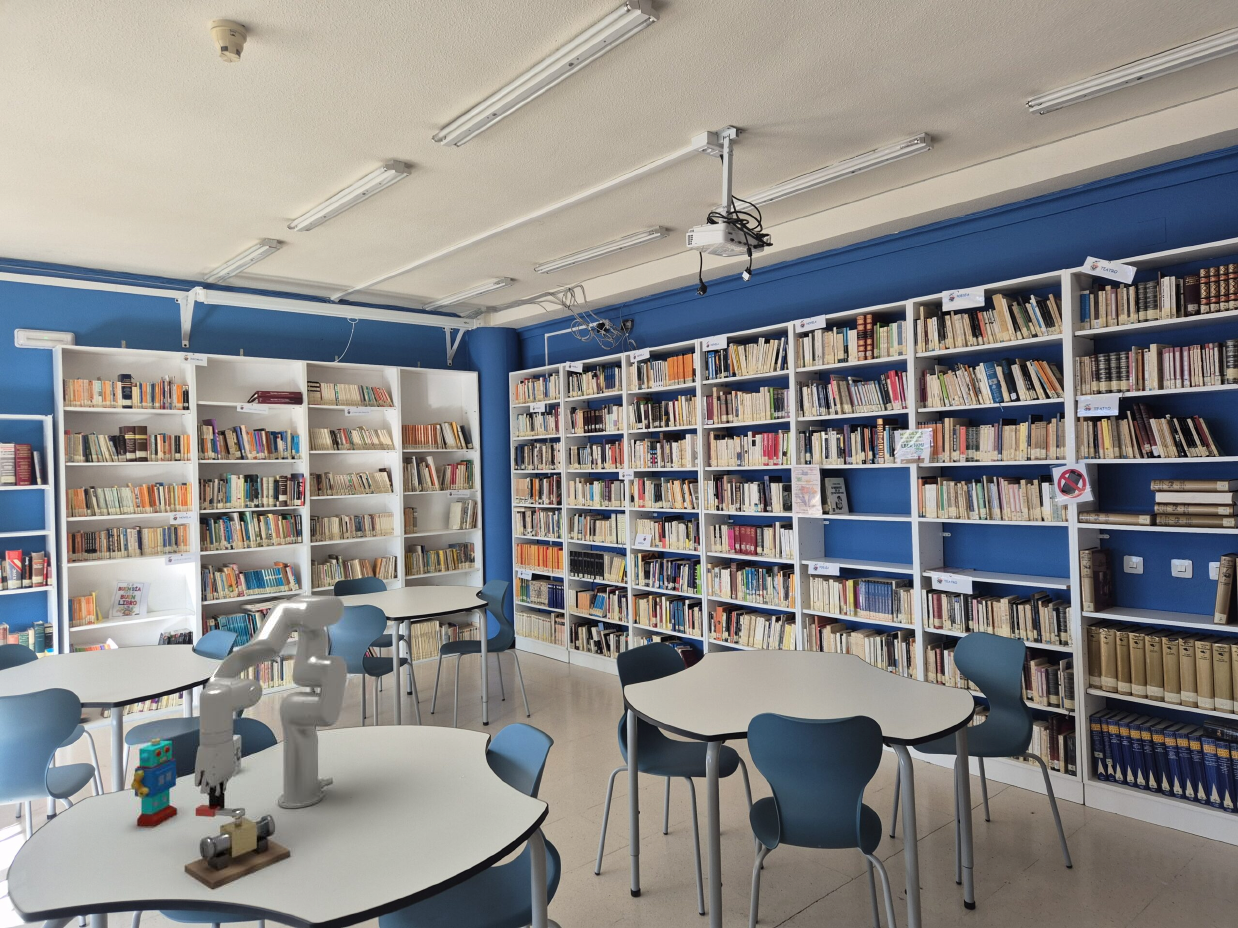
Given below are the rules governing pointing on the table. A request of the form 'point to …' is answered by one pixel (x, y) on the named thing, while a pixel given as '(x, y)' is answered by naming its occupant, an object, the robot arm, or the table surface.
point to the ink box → (237, 753)
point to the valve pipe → (237, 840)
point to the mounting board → (236, 865)
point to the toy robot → (155, 782)
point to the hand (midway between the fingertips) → (216, 809)
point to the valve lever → (219, 811)
